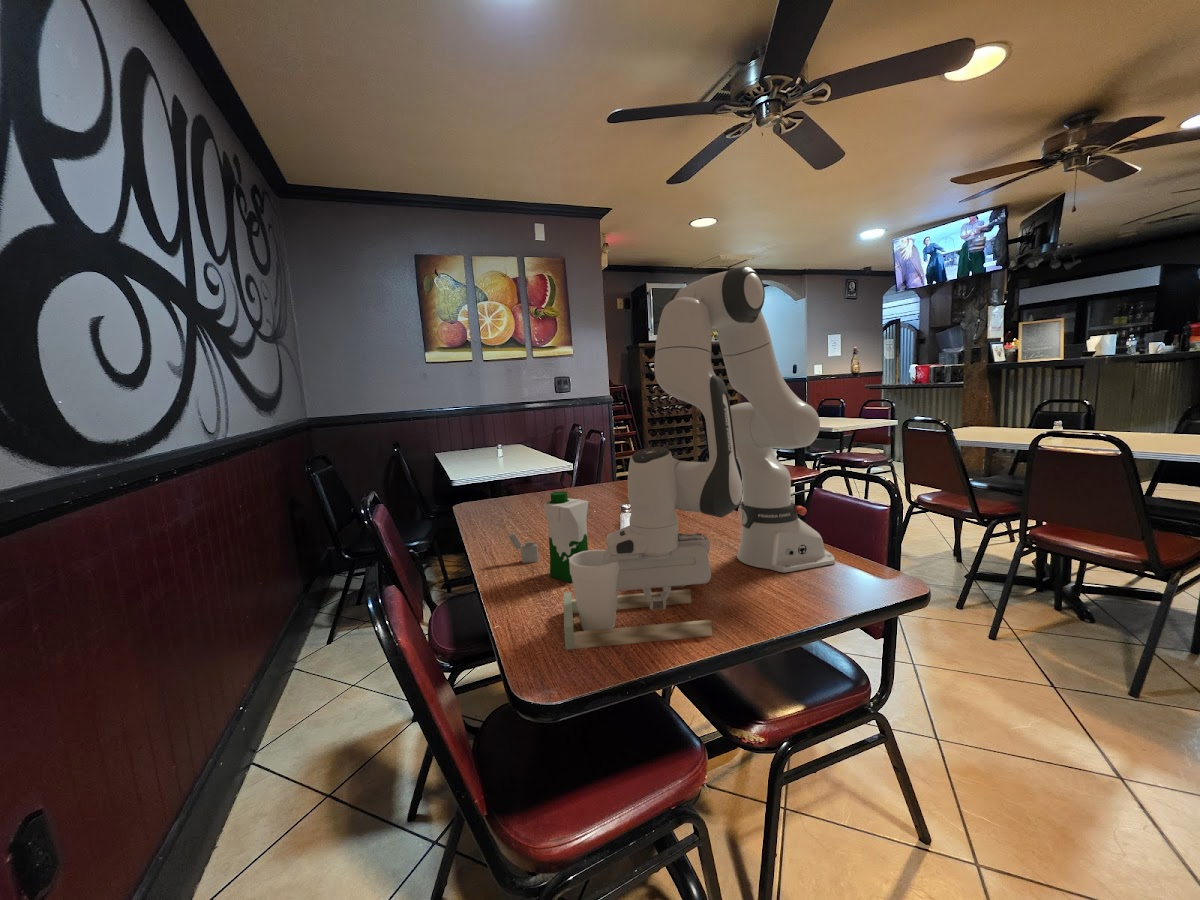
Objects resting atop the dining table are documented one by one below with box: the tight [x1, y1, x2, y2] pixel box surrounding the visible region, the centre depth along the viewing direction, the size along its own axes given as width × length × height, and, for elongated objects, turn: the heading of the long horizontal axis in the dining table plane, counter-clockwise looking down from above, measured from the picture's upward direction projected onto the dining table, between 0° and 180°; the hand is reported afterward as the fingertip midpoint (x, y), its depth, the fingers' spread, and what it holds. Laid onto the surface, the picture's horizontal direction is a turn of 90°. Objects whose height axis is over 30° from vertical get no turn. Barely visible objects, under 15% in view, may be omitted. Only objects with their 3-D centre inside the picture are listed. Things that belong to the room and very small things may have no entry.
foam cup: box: [569, 549, 619, 631], centre depth 85 cm, size 10×9×13 cm
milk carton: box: [543, 491, 589, 584], centre depth 110 cm, size 9×9×20 cm
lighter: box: [508, 532, 539, 564], centre depth 121 cm, size 7×2×8 cm, turn 95°
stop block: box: [563, 591, 575, 651], centre depth 85 cm, size 2×14×4 cm, turn 5°
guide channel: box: [572, 588, 713, 650], centre depth 86 cm, size 24×14×2 cm, turn 95°
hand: (657, 608), depth 86 cm, fingers closed
